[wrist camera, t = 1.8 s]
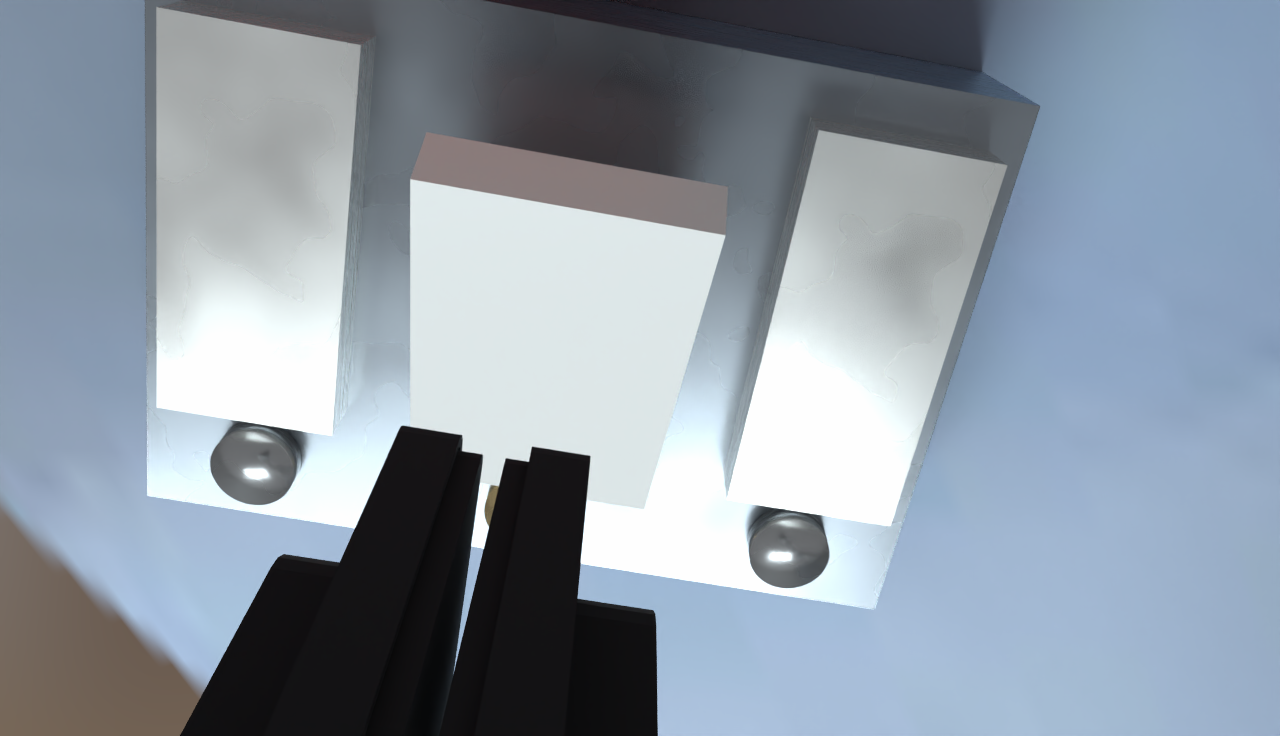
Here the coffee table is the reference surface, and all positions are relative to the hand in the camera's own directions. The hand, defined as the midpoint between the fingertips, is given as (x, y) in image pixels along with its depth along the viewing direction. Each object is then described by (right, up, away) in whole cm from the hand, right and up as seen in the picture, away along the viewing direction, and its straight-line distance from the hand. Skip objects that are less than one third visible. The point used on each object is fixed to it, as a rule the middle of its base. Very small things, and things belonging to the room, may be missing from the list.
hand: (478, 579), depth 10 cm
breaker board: (0, +5, +17) cm, 17 cm away
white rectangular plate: (0, +3, +11) cm, 11 cm away
